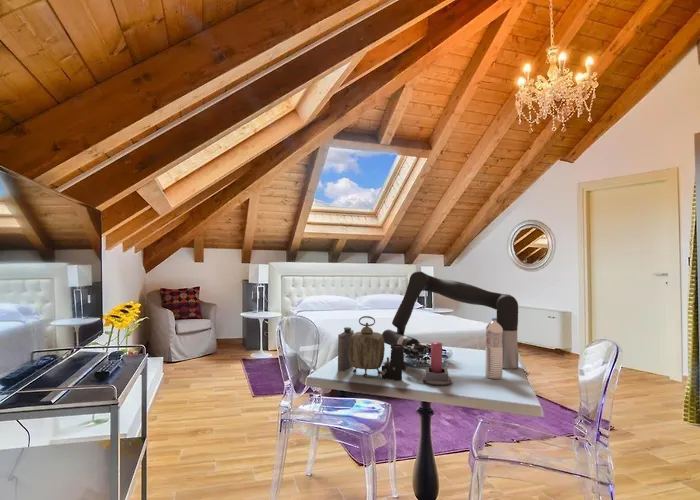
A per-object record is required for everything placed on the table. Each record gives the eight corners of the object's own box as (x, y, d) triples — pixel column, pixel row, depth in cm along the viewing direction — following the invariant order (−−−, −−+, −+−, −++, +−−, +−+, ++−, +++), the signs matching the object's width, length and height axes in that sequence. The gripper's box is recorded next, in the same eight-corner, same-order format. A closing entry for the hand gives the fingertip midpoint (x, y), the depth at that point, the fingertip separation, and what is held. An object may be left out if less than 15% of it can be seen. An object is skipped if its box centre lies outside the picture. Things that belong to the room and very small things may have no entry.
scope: (386, 342, 178) (409, 344, 173) (386, 374, 177) (409, 378, 173) (379, 345, 170) (403, 348, 166) (379, 379, 170) (403, 383, 166)
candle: (441, 376, 171) (441, 342, 171) (442, 379, 166) (442, 344, 167) (430, 375, 171) (430, 341, 172) (430, 379, 167) (431, 343, 167)
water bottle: (500, 381, 171) (501, 319, 171) (483, 378, 174) (484, 318, 175) (503, 376, 177) (504, 317, 177) (487, 374, 180) (487, 316, 181)
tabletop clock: (384, 374, 179) (385, 315, 179) (382, 380, 170) (383, 318, 170) (351, 371, 181) (351, 314, 182) (347, 377, 172) (348, 317, 173)
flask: (355, 364, 194) (356, 325, 195) (344, 372, 181) (345, 330, 181) (348, 363, 196) (348, 324, 196) (336, 371, 182) (337, 329, 182)
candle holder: (450, 378, 174) (450, 367, 174) (453, 387, 162) (453, 375, 162) (421, 376, 176) (421, 365, 176) (421, 385, 164) (421, 373, 164)
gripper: (394, 337, 189) (412, 345, 174) (422, 336, 194) (441, 343, 179) (394, 354, 189) (411, 363, 174) (421, 352, 194) (441, 360, 179)
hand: (426, 352), depth 176 cm, fingers open, 8 cm apart
